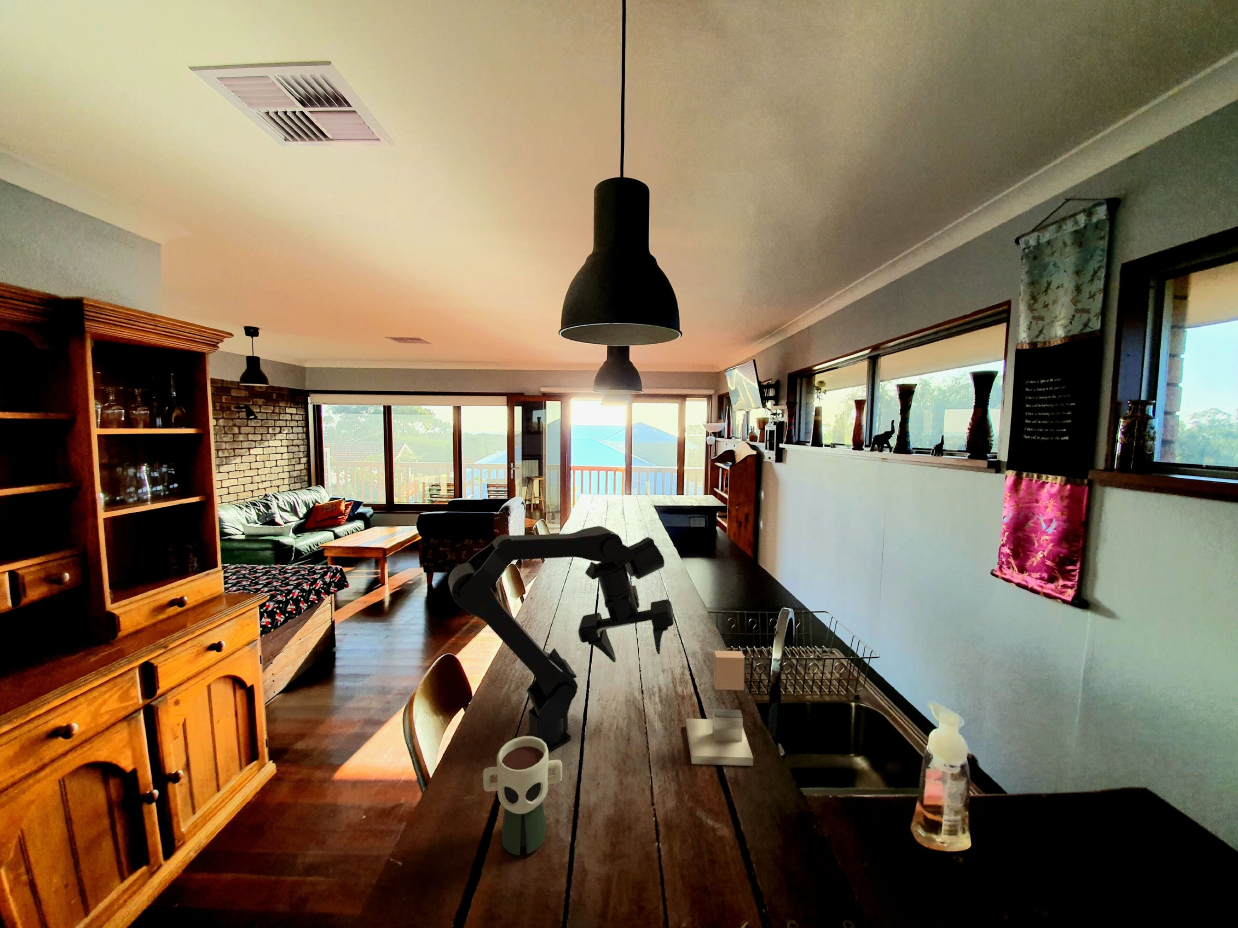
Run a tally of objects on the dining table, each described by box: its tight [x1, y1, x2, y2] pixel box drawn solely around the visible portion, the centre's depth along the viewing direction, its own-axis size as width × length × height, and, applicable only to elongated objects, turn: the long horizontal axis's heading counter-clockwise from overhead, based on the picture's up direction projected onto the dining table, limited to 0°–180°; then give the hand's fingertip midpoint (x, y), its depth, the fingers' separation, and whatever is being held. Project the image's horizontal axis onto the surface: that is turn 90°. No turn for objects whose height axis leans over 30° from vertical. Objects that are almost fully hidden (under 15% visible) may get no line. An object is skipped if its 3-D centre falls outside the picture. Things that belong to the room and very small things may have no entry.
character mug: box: [482, 735, 563, 856], centre depth 65 cm, size 11×7×13 cm, turn 99°
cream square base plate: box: [685, 708, 754, 767], centre depth 84 cm, size 10×10×6 cm
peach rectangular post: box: [713, 650, 745, 691], centre depth 83 cm, size 5×2×6 cm, turn 88°
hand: (636, 656), depth 93 cm, fingers open, 9 cm apart
